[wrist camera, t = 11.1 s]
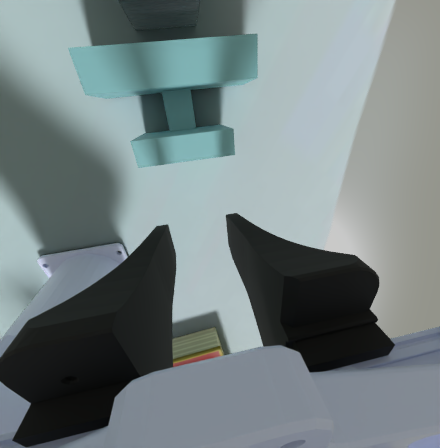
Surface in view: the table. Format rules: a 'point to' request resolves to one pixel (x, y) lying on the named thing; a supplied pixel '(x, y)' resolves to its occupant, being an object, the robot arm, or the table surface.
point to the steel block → (161, 13)
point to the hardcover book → (196, 347)
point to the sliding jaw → (171, 88)
